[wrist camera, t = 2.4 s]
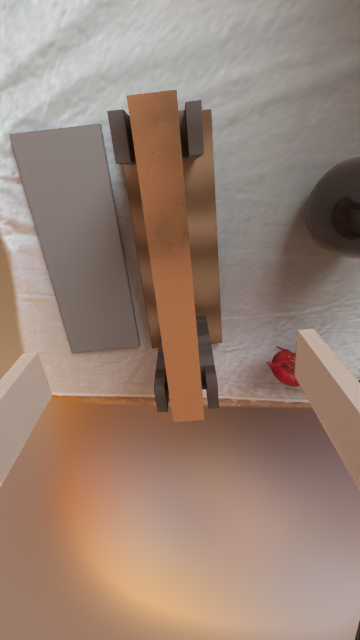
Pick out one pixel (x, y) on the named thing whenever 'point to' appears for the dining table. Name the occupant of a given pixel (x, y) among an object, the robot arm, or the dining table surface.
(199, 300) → the rail stand
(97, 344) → the rubber mat
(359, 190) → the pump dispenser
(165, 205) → the copper rail
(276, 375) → the decorative bird figurine
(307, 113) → the dining table surface
